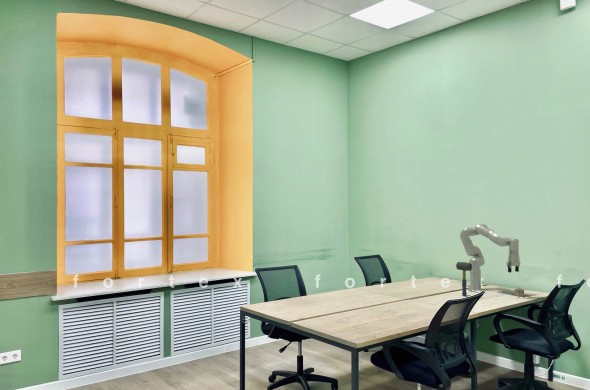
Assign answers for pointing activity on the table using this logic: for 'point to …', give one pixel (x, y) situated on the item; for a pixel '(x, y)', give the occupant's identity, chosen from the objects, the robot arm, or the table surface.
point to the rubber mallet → (464, 274)
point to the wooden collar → (519, 292)
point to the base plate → (510, 293)
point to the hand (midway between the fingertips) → (513, 271)
